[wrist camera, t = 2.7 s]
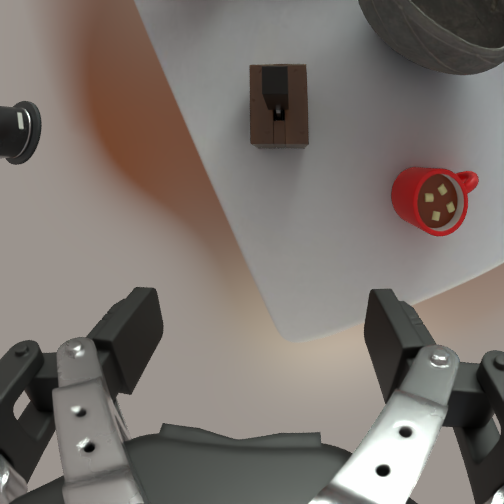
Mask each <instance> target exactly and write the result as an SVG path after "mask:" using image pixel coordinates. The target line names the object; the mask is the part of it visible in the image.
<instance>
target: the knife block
mask: <svg viewBox="0 0 504 504" xmlns="http://www.w3.org/2000/svg"><path fill="white" fill-rule="evenodd" d="M262 66H288V93H289V110H285V121H276V110H268V108H267V105H266V103H265V100H264V98H263V95H262ZM250 141H251V144H252V145H253V146H255V147H257V148H259V149H260V148H291V149H305V147H306V146H307V145H308V144H309V141H308V96H307V70H306V64H260V65H250Z"/></svg>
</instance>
